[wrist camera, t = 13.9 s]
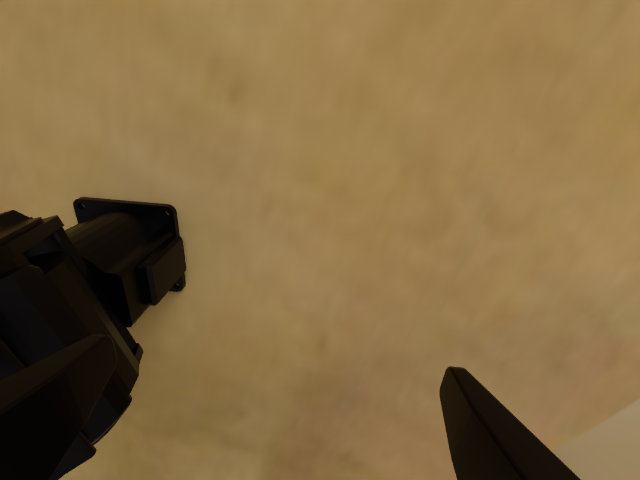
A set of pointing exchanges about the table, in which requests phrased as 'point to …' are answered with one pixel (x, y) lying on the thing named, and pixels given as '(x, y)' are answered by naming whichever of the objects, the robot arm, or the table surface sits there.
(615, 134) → the table surface
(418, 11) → the table surface
